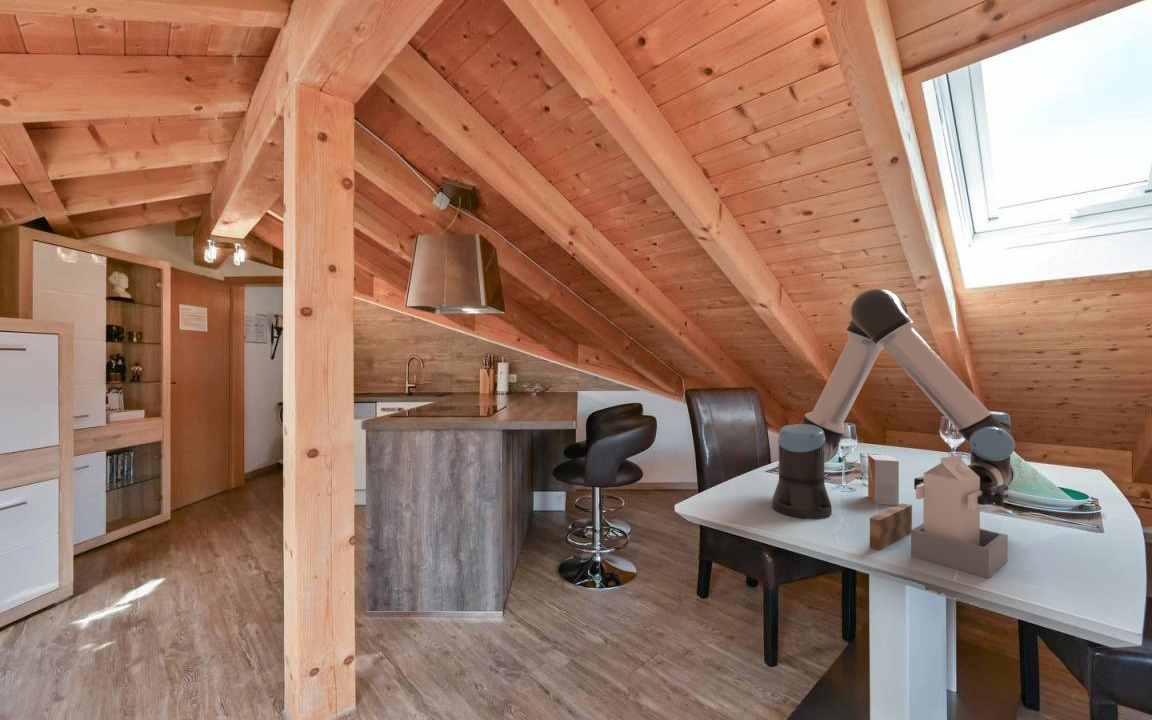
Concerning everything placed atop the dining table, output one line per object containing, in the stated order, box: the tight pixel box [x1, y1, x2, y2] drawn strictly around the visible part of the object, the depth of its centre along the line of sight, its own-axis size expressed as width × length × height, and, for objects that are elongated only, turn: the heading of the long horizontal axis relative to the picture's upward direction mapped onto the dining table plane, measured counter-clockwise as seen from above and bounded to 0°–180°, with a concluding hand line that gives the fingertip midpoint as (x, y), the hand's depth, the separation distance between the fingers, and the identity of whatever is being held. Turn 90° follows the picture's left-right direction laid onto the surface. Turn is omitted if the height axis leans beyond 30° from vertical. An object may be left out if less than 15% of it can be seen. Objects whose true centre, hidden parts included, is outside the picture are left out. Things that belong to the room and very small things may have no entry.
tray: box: [910, 523, 1009, 579], centre depth 101 cm, size 13×13×6 cm
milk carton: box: [922, 454, 981, 546], centre depth 102 cm, size 7×7×19 cm
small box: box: [867, 454, 900, 506], centre depth 142 cm, size 8×6×13 cm
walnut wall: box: [869, 502, 913, 552], centre depth 111 cm, size 18×2×7 cm, turn 126°
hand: (943, 497), depth 99 cm, fingers closed on milk carton, 8 cm apart
